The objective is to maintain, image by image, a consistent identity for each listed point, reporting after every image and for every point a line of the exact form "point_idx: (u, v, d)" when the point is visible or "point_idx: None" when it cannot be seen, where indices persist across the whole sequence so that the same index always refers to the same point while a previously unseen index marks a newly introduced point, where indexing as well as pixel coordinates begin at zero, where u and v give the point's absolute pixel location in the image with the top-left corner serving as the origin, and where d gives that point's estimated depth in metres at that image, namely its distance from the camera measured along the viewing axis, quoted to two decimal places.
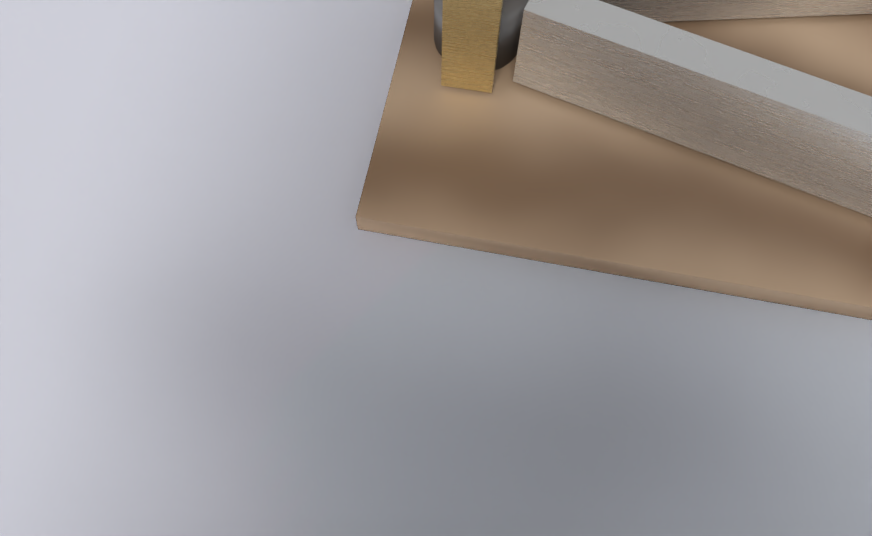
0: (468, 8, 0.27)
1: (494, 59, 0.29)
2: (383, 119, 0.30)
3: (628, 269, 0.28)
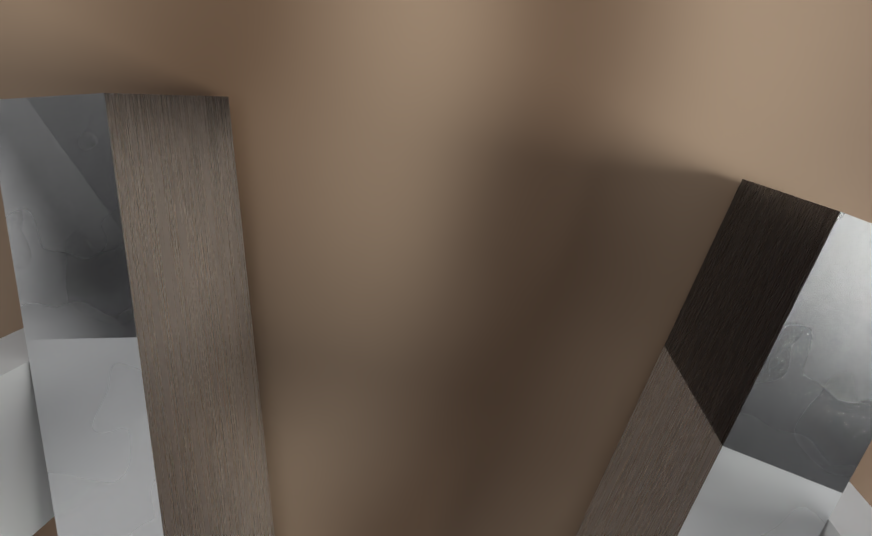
0: None
1: None
2: None
3: None
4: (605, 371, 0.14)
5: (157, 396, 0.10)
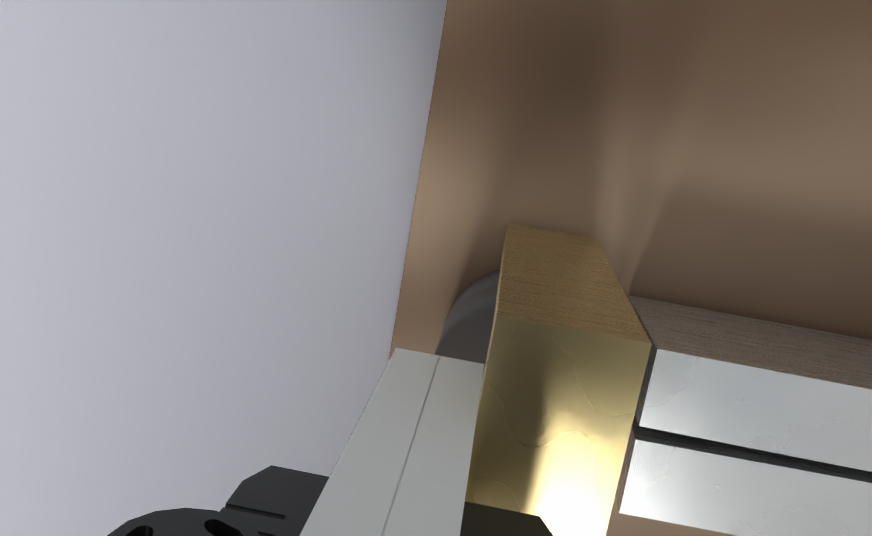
0: None
1: None
2: None
3: None
4: None
5: None
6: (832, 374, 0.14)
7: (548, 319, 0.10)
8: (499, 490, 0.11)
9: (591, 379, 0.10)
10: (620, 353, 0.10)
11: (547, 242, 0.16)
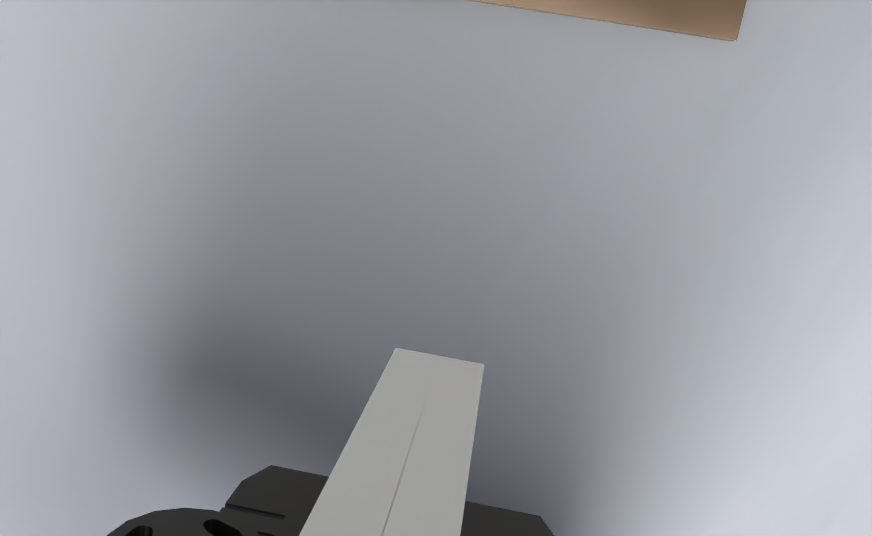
0: None
1: None
2: None
3: None
4: None
5: None
6: None
7: None
8: None
9: None
10: None
11: None
